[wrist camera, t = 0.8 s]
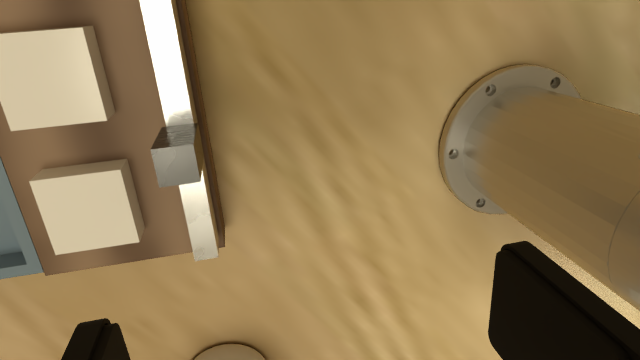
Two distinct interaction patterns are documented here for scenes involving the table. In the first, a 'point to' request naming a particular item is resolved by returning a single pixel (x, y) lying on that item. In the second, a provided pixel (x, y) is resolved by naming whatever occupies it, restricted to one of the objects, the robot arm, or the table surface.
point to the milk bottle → (230, 353)
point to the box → (14, 235)
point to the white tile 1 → (53, 78)
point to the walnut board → (107, 131)
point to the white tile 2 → (88, 206)
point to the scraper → (179, 127)
